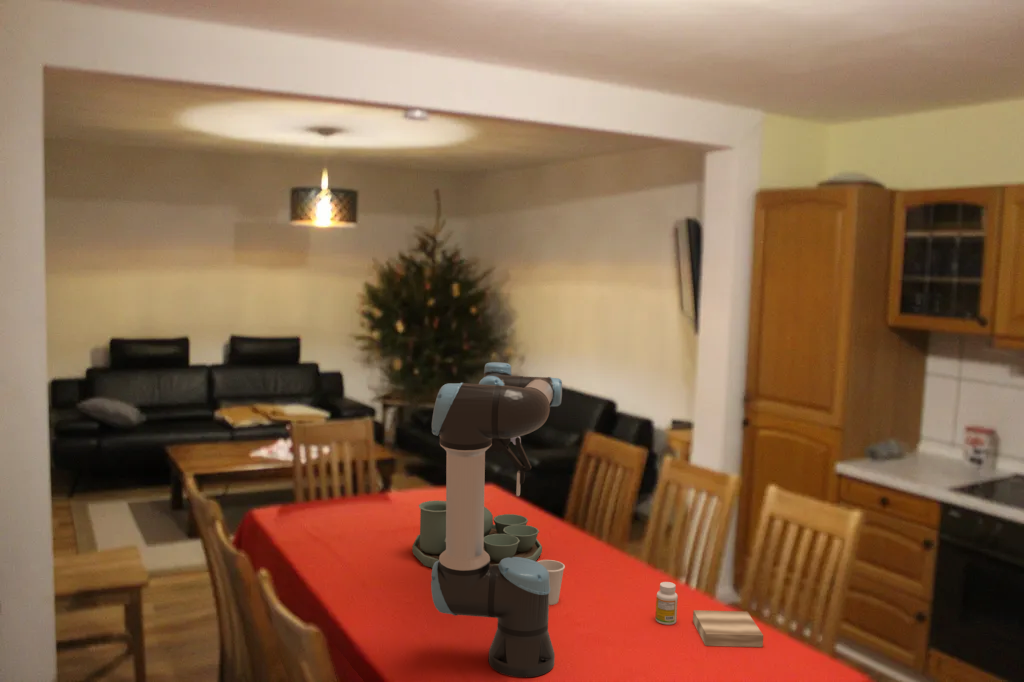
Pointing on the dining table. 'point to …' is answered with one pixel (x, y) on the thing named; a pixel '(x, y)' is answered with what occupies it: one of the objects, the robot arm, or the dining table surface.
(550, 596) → the dixie cup
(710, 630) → the birch stand
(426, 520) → the tea set
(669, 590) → the supplement bottle
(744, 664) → the dining table surface
